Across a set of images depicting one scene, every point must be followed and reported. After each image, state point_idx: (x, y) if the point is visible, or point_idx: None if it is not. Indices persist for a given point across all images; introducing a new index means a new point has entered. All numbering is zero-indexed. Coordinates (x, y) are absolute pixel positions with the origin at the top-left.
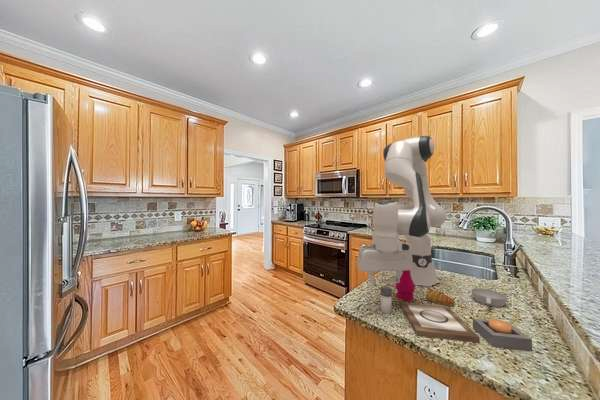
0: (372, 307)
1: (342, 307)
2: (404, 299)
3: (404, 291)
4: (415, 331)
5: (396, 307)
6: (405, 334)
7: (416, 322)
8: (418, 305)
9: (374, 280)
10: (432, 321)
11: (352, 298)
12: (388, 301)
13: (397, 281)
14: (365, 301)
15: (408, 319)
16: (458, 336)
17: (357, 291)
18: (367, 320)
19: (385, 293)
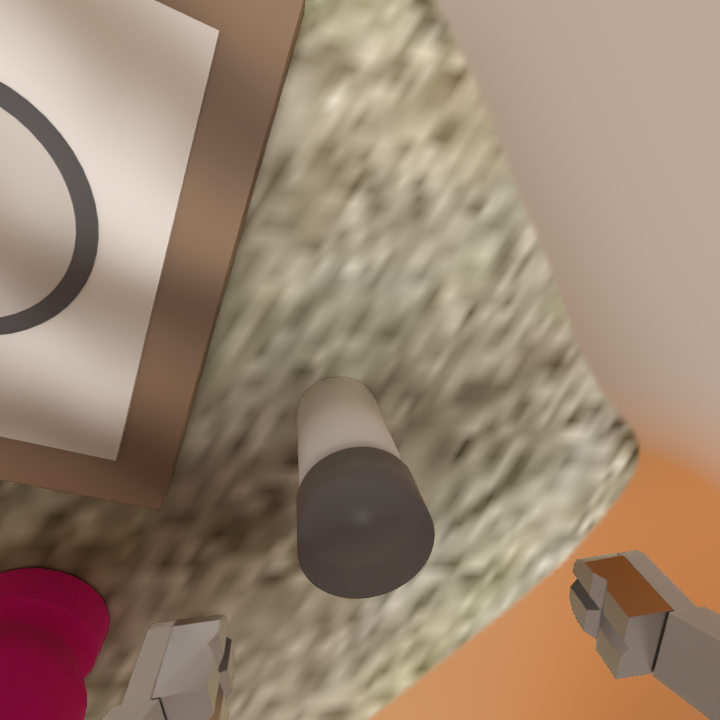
0: None
1: (608, 485)
2: (68, 581)
3: (31, 643)
4: (291, 50)
5: (213, 469)
6: (389, 55)
7: (218, 136)
8: (4, 435)
9: (647, 599)
10: (33, 107)
11: (475, 599)
12: (353, 424)
13: (190, 636)
14: None
15: (234, 255)
16: None
17: (383, 694)
18: (550, 303)
19: (402, 473)
